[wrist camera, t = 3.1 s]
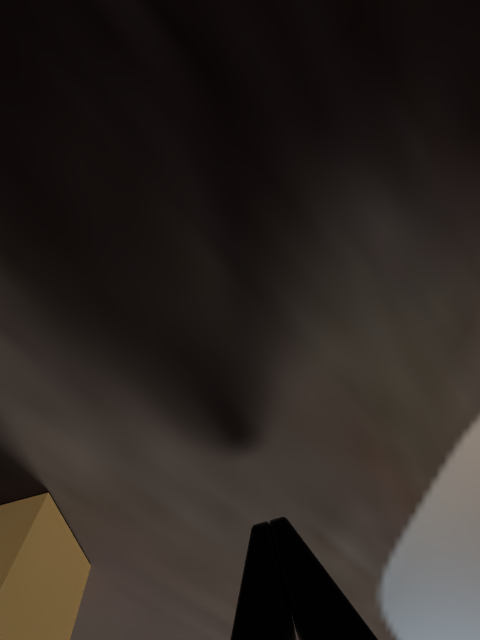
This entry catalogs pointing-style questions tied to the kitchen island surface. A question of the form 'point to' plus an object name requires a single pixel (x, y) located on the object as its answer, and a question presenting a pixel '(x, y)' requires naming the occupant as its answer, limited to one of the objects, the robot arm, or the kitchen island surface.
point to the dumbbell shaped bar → (39, 571)
